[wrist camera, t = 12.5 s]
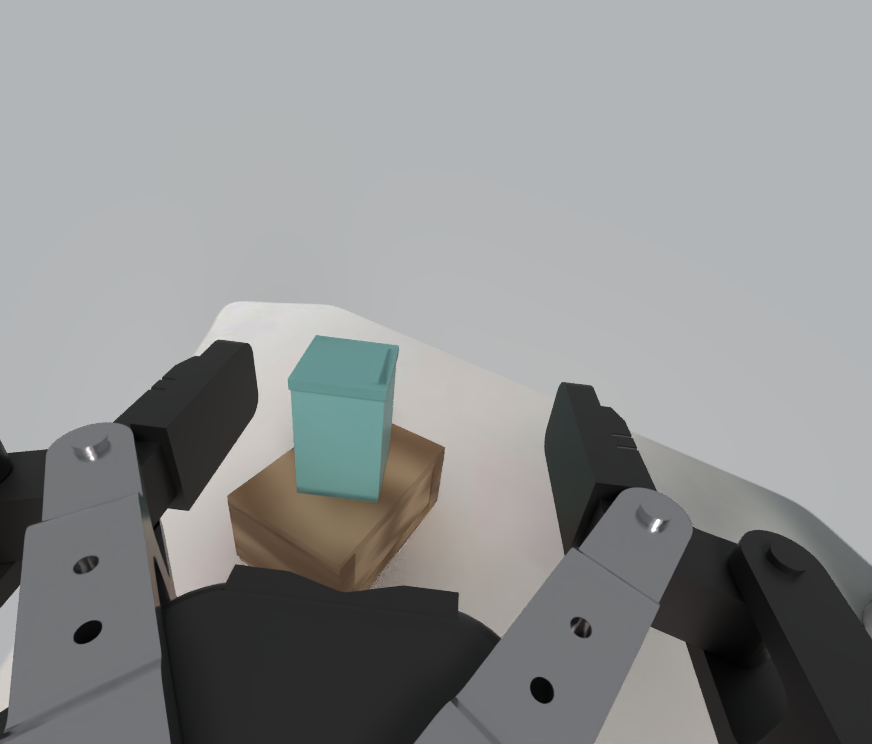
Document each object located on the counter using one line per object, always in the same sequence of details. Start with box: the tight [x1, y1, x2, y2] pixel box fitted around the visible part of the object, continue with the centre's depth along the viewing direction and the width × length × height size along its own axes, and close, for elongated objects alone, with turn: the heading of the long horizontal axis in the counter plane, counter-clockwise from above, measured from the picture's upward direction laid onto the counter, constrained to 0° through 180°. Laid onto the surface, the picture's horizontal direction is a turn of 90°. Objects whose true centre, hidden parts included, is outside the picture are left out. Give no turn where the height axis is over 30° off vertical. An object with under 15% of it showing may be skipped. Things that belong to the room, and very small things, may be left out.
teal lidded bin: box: [288, 335, 399, 503], centre depth 34 cm, size 6×6×10 cm
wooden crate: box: [227, 424, 445, 592], centre depth 38 cm, size 14×10×7 cm
